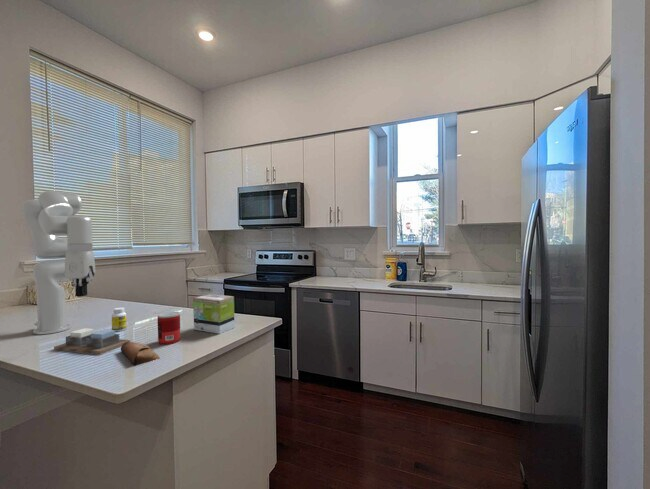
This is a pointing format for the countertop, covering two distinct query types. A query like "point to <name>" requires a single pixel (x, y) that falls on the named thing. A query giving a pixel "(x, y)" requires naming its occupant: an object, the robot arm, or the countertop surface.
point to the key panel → (91, 344)
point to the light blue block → (102, 334)
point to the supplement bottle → (119, 319)
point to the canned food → (168, 328)
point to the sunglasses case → (138, 353)
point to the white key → (82, 332)
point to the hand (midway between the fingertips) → (81, 295)
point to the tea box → (213, 313)
